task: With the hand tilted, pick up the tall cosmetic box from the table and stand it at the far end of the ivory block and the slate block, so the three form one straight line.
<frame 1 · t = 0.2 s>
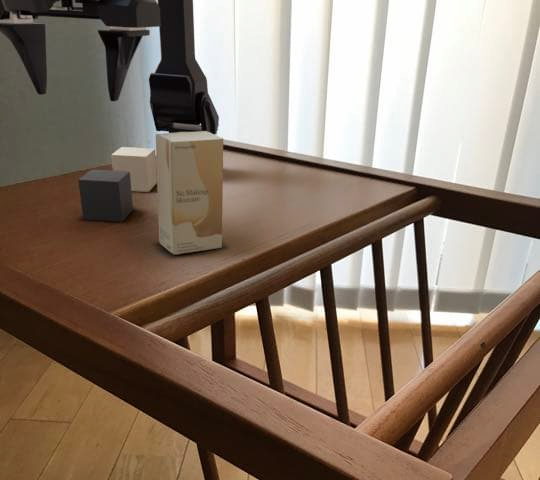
hand: (77, 97, 69), 15 cm above the table, tool pointing down, fingers open, 9 cm apart
cosmetic box: (191, 247, 72), on the table
ivory block: (136, 186, 92), on the table
slate block: (108, 214, 80), on the table
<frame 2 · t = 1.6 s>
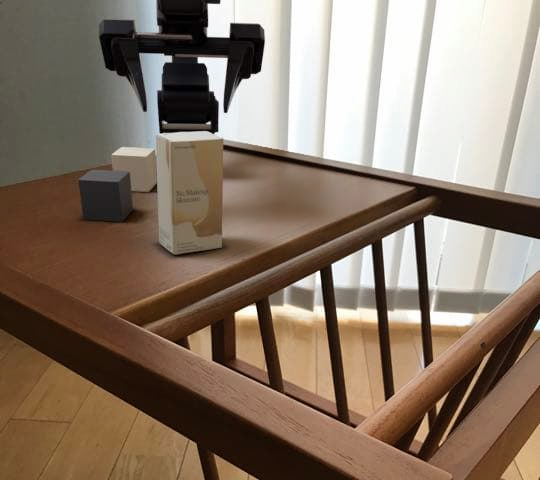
hand: (185, 110, 72), 13 cm above the table, tool tilted 45°, fingers open, 9 cm apart
nothing on the table moved.
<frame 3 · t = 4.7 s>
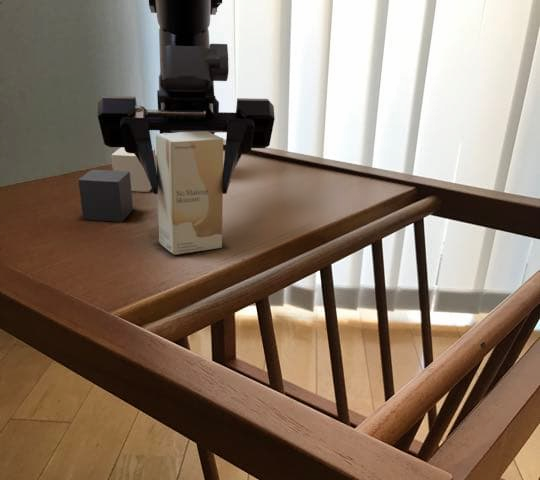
hand: (190, 192, 67), 7 cm above the table, tool tilted 45°, fingers closed on cosmetic box, 7 cm apart
cosmetic box: (192, 247, 72), on the table, touching gripper
everything else where it was.
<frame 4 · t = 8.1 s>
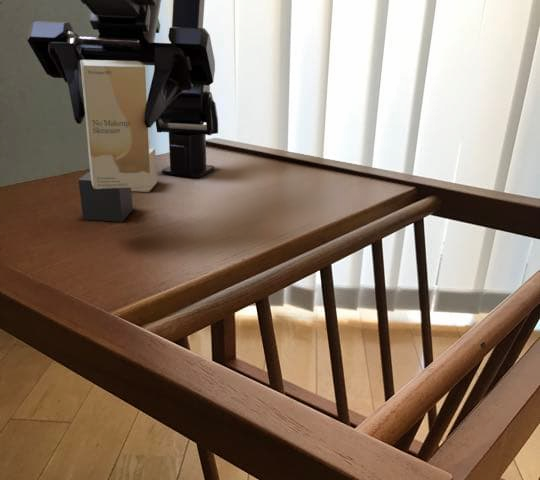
hand: (111, 123, 64), 13 cm above the table, tool tilted 45°, fingers closed on cosmetic box, 7 cm apart
cosmetic box: (122, 185, 69), point 6 cm above the table, touching gripper
everything else where it was.
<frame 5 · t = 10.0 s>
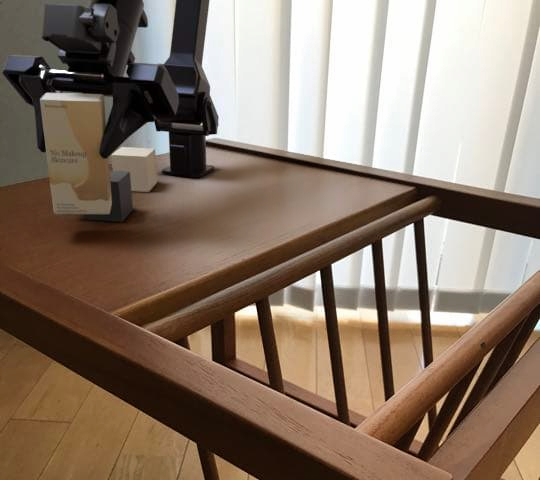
hand: (71, 153, 67), 10 cm above the table, tool tilted 45°, fingers closed on cosmetic box, 7 cm apart
cosmetic box: (85, 211, 72), point 3 cm above the table, touching gripper
everything else where it was.
when the fingers open (7 cm above the table, at t = 11.5 s): cosmetic box stays where it is, on the table.
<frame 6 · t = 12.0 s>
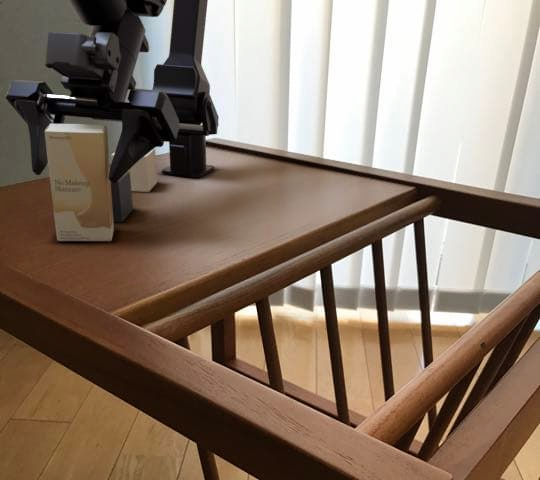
hand: (73, 177, 68), 7 cm above the table, tool tilted 45°, fingers open, 9 cm apart
cosmetic box: (87, 237, 74), on the table
everything else where it was.
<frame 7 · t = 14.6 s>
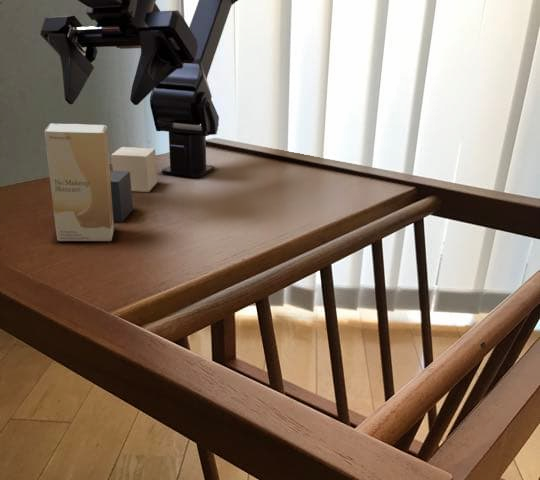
hand: (100, 102, 73), 14 cm above the table, tool tilted 40°, fingers open, 9 cm apart
nothing on the table moved.
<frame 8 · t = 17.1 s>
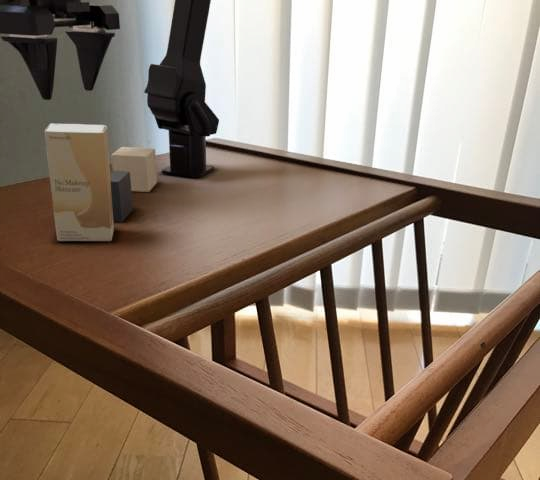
hand: (68, 94, 81), 13 cm above the table, tool pointing down, fingers open, 9 cm apart
nothing on the table moved.
at the end: cosmetic box 0.1 cm from the target spot on the table beside the ivory block, on the table; cosmetic box tilted 0°; slate block moved 0.0 cm from its start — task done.
